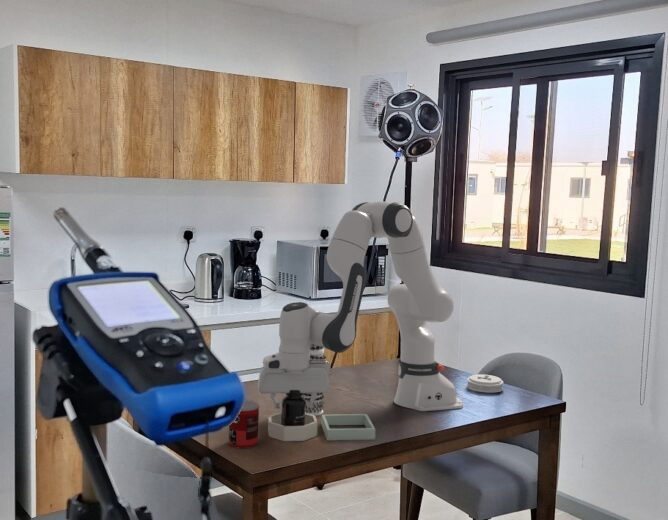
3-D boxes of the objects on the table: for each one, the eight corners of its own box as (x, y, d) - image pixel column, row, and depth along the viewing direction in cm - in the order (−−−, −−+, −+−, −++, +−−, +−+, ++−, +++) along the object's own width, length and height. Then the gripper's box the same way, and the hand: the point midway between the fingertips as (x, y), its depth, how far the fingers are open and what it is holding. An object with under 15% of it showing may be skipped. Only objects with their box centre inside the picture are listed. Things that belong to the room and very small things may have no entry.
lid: (497, 385, 268) (498, 372, 267) (506, 395, 255) (507, 381, 255) (463, 385, 268) (464, 371, 267) (470, 394, 255) (471, 380, 255)
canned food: (229, 438, 204) (230, 400, 203) (258, 438, 204) (259, 400, 203) (227, 448, 196) (228, 408, 195) (257, 448, 197) (258, 408, 196)
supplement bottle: (301, 434, 206) (302, 392, 205) (278, 431, 207) (279, 390, 206) (307, 426, 213) (308, 386, 212) (284, 424, 214) (285, 384, 213)
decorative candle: (289, 410, 231) (291, 332, 228) (313, 405, 236) (315, 329, 234) (306, 418, 223) (308, 337, 221) (330, 413, 229) (332, 334, 226)
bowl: (313, 424, 218) (313, 411, 217) (318, 440, 204) (319, 426, 204) (267, 425, 216) (267, 412, 216) (269, 441, 202) (269, 427, 202)
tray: (366, 423, 220) (366, 413, 220) (375, 439, 207) (375, 429, 206) (321, 424, 218) (321, 414, 218) (327, 440, 205) (327, 429, 204)
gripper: (329, 357, 213) (328, 403, 214) (258, 357, 210) (257, 404, 211) (332, 362, 206) (330, 410, 208) (259, 363, 204) (258, 411, 205)
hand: (293, 407), depth 209 cm, fingers open, 8 cm apart
